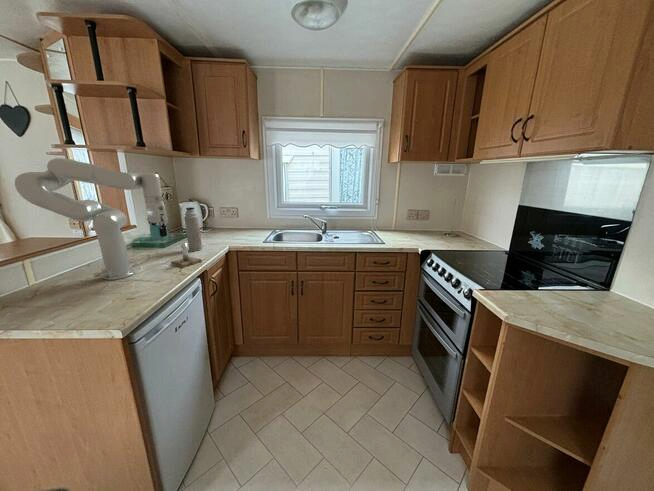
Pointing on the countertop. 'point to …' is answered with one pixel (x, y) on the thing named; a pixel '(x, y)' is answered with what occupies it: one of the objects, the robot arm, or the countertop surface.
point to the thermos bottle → (193, 230)
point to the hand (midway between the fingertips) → (159, 235)
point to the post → (185, 251)
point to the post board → (186, 262)
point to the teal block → (156, 232)
